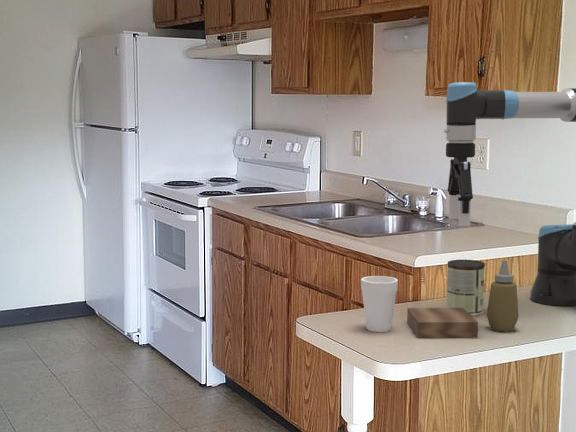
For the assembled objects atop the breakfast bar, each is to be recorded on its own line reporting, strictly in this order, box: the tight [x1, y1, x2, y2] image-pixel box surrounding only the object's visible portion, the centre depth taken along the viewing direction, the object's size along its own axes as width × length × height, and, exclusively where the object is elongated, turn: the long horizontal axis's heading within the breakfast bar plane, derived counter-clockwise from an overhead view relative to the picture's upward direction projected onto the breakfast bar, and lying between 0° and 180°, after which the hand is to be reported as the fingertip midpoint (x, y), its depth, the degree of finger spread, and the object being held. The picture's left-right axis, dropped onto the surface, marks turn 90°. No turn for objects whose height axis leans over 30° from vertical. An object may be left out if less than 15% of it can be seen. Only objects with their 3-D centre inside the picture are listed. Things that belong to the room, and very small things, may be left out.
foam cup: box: [360, 275, 399, 333], centre depth 206 cm, size 10×9×13 cm
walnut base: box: [406, 307, 479, 339], centre depth 206 cm, size 15×15×4 cm
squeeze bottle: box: [486, 260, 519, 332], centre depth 206 cm, size 8×8×18 cm
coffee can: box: [446, 259, 486, 317], centre depth 225 cm, size 10×10×14 cm
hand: (459, 222), depth 212 cm, fingers open, 13 cm apart
